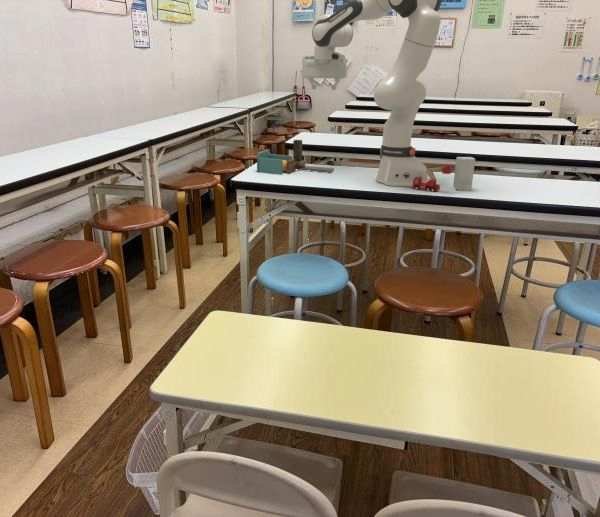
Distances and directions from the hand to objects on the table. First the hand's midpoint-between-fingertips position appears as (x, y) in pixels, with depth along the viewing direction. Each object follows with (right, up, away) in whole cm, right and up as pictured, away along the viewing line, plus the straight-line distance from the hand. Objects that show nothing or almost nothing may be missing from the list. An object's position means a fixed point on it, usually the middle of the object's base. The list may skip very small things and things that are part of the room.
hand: (323, 89), depth 225 cm
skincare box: (+52, -49, -31) cm, 77 cm away
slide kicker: (-13, -37, -4) cm, 39 cm away
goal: (-22, -37, -4) cm, 43 cm away
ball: (-18, -35, -7) cm, 40 cm away
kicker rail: (-5, -36, -2) cm, 37 cm away
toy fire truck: (+39, -50, -33) cm, 71 cm away
